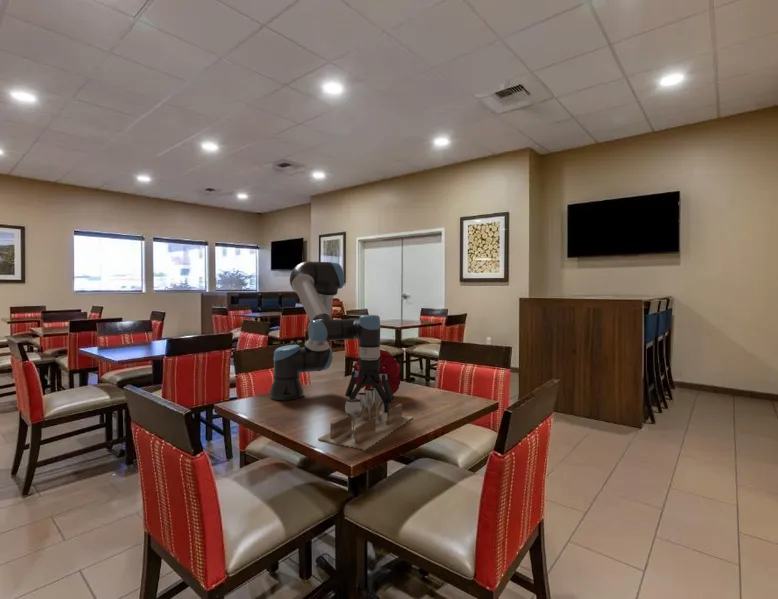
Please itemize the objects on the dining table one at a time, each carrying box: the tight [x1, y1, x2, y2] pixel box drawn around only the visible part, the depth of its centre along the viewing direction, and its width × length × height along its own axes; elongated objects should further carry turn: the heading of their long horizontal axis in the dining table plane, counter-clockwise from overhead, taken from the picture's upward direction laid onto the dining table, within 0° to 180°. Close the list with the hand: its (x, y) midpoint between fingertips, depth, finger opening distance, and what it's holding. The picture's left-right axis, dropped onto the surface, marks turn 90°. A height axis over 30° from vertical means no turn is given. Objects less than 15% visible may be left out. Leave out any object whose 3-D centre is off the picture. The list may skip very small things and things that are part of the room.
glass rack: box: [317, 403, 414, 451], centre depth 145 cm, size 18×36×6 cm, turn 153°
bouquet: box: [353, 348, 401, 395], centre depth 191 cm, size 22×24×30 cm
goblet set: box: [344, 385, 385, 439], centre depth 145 cm, size 28×6×13 cm, turn 155°
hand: (369, 419), depth 145 cm, fingers open, 11 cm apart
